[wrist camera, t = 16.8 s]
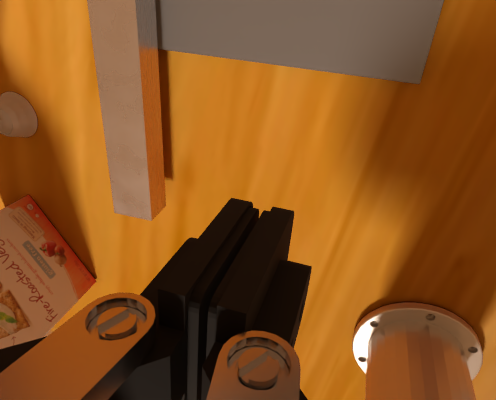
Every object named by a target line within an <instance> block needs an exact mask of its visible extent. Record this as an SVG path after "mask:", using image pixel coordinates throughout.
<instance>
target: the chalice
mask: <svg viewBox="0 0 496 400" xmlns="http://www.w3.org/2000/svg"><path fill="white" fill-rule="evenodd" d="M37 127H38V123H37V117H36V113H35V111H34V109H33V107H32V106H31V104H30V103H29V102H28V101H27V100H26V99H25V98H24V97H22V96H21V95H20V94H17V93H15V92H5V93H3V94H2V95H1V96H0V133H1V134H3V135H5V136H9V137H30V136H32V135H33V134H34V133H35V132H36V130H37Z"/></svg>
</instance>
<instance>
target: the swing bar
mask: <svg viewBox="0 0 496 400" xmlns="http://www.w3.org/2000/svg"><path fill="white" fill-rule="evenodd" d="M87 2H88V10H89V18H90V26H91V33H92V41H93V49H94V57H95V65H96V72H97V80H98V88H99V96H100V103H101V111H102V119H103V127H104V134H105V142H106V150H107V158H108V166H109V173H110V181H111V189H112V197H113V204H114V212H115V213H118V214H123V215H127V216H132V217H137V218H141V219H146V220H150V221H152V220H153V219H154V218H155V217H156V216H157V215H158V214H159V213H160V212H161V210H162V209H163V208H164V207H165V206H166V198H165V179H164V160H163V141H162V122H161V102H160V83H159V64H158V45H157V26H156V7H155V0H87Z"/></svg>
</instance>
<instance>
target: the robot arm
mask: <svg viewBox="0 0 496 400" xmlns="http://www.w3.org/2000/svg"><path fill="white" fill-rule="evenodd" d="M293 219H294V211H291V210H286V209H282V208H277V207H272V209H271V211H265V210H264V211H263V212H262V214H261V216H260V218H259V209H256V208H253V203H252V202H249V201H244V200H239V199H235V198H231V199H230V200H229V201H228V202H227V204H226V205H225V206H224V207H223V209H222V210H221V211H220V212H219V214H218V215H217V216H216V217H215V218H214V220H213V221H212V222H211V223H210V225H209V226H208V227H207V228H206V230H205V231H204V232H203V233H202V235H201V236H200V237H199V238H198V239H196V238H189V239H188V240H187V241H186V242H185V243H184V244H183V245H182V246H181V247H180V249H179V250H178V251H177V252H176V253H175V254H174V256H173V257H172V258H171V259H170V260H169V261H168V263H167V264H166V265H165V266H164V267H163V269H162V270H161V271H160V272H159V273H158V274H157V276H156V277H155V278H154V279H153V280H152V281H151V283H150V284H149V285H148V286H147V287H146V288H145V290H144V291H143V292H142V293H141V294H140V295H137V294H134V293H114V294H109V295H106V296H103V297H100V298H98V299H96V300H94V301H93V302H91V303H90V304H88V305H87V306H85V307H84V308H83V309H82V310H80V311H79V312H78V313H77V314H75V315H74V316H73V317H71V318H70V319H69V320H68V321H66V322H65V323H64V324H62V325H61V326H60V327H59V328H57V329H56V330H55V331H53V332H52V333H51V334H50V335H48V336H46V337H43V338H39V339H35V340H32V341H28V342H24V343H21V344H17V345H13V346H10V347H6V348H3V349H0V400H307V398H306V397H305V395H304V394H303V392H302V391H301V390H300V363H299V358H298V356H297V354H296V352H295V350H294V345H295V341H296V337H297V334H298V330H299V326H300V322H301V318H302V314H303V310H304V305H305V301H306V296H307V291H308V285H309V280H310V274H311V266H308V265H303V264H299V263H295V262H291V261H287V259H288V253H289V246H290V239H291V233H292V226H293ZM352 350H353V354H354V357H355V359H356V361H357V363H358V365H359V366H360V368H361V369H362V370H363V371H364V372H365V373H366V397H365V400H476V397H475V393H474V389H473V385H472V380H473V379H474V378H475V377H476V375H477V374H478V373H479V371H480V368H481V366H482V362H483V353H482V349H481V344H480V342H479V339H478V336H477V335H476V333H475V332H474V330H473V329H472V327H471V326H470V325H468V324H467V323H466V322H465V321H464V320H463V319H462V318H460V317H458V316H457V315H455V314H454V313H452V312H450V311H447V310H445V309H443V308H440V307H437V306H433V305H429V304H423V303H409V302H403V303H396V304H390V305H386V306H383V307H380V308H378V309H376V310H374V311H372V312H370V313H369V314H367V315H366V316H365V317H363V318H362V320H361V321H360V322H359V323H358V324H357V326H356V329H355V331H354V334H353V346H352Z"/></svg>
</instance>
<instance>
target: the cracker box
mask: <svg viewBox="0 0 496 400" xmlns="http://www.w3.org/2000/svg"><path fill="white" fill-rule="evenodd" d="M95 282H96V280H95V279H94V278H93V276H92V275H91V274H90V273H89V271H88V270H87V269H86V267H85V266H84V265H83V264H82V262H81V261H80V260H79V258H78V257H77V256H76V255H75V253H74V252H73V251H72V249H71V248H70V247H69V246H68V244H67V243H66V242H65V240H64V239H63V238H62V237H61V235H60V234H59V233H58V231H57V230H56V229H55V228H54V226H53V225H52V224H51V222H50V221H49V220H48V219H47V217H46V216H45V215H44V213H43V212H42V211H41V209H40V208H39V207H38V206H37V204H36V203H35V202H34V200H33V199H32V198H31V196H30V195H27V196H25V197H23V198H21V199H20V200H18V201H16V202H14V203H12V204H11V205H9V206H7V207H5V208H3V209H2V210H0V349H3V348H6V347H10V346H13V345H17V344H21V343H24V342H28V341H32V340H35V339H39V338H43V337H44V336H45V335H46V334H47V333H48V331H49V330H50V329H51V328H52V327H53V326H54V325H55V324H56V323H57V322H58V321H59V320H60V319H61V318H62V317H63V316H64V315H65V314H66V313H67V312H68V311H69V310H70V309H71V308H72V306H73V305H74V304H75V303H76V302H77V301H78V300H79V299H80V298H81V297H82V296H83V295H84V294H85V293H86V292H87V291H88V290H89V289H90V288H91V286H92V285H93V284H94V283H95Z"/></svg>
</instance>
